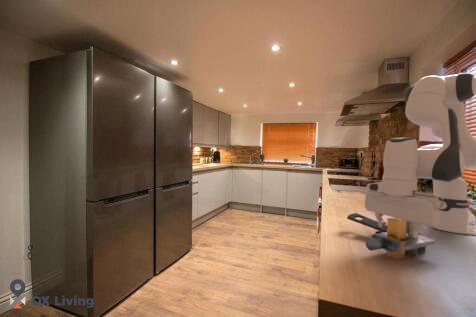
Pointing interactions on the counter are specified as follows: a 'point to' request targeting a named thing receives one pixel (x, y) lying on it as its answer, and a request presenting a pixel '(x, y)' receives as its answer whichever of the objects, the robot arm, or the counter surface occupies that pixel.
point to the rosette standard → (399, 242)
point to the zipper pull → (375, 226)
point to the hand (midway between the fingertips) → (396, 231)
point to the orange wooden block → (396, 235)
